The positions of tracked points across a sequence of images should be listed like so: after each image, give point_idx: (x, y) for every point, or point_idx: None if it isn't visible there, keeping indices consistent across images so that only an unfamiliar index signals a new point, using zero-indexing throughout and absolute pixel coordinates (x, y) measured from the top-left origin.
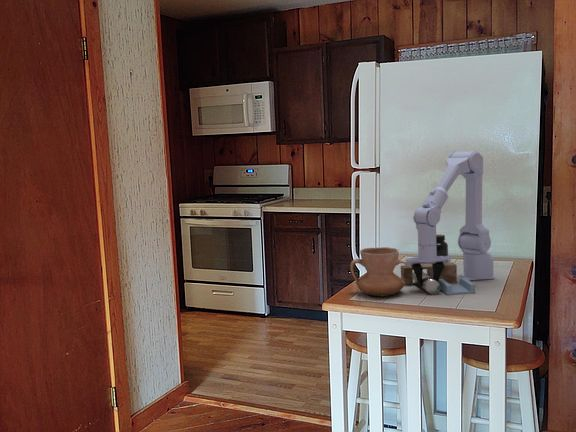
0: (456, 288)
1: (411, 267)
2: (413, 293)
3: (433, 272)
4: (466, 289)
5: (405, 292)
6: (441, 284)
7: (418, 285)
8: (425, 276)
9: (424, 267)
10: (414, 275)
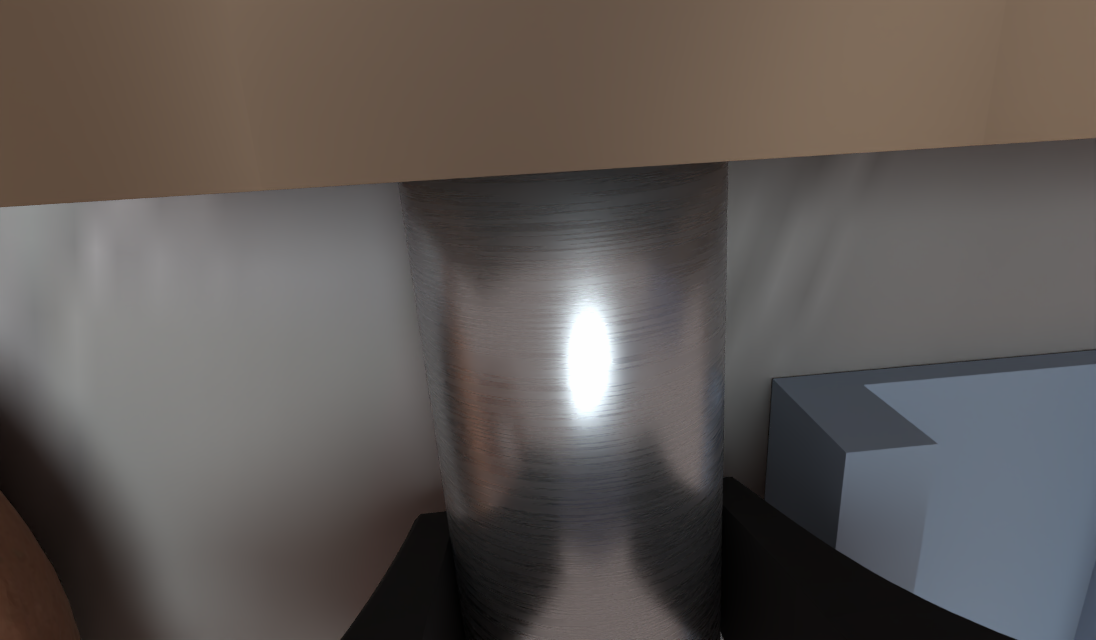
0: (972, 569)
1: (219, 141)
2: (312, 632)
3: (812, 627)
4: (1065, 626)
5: (188, 575)
6: None
7: (415, 524)
8: (573, 630)
9: (753, 157)
10: None
